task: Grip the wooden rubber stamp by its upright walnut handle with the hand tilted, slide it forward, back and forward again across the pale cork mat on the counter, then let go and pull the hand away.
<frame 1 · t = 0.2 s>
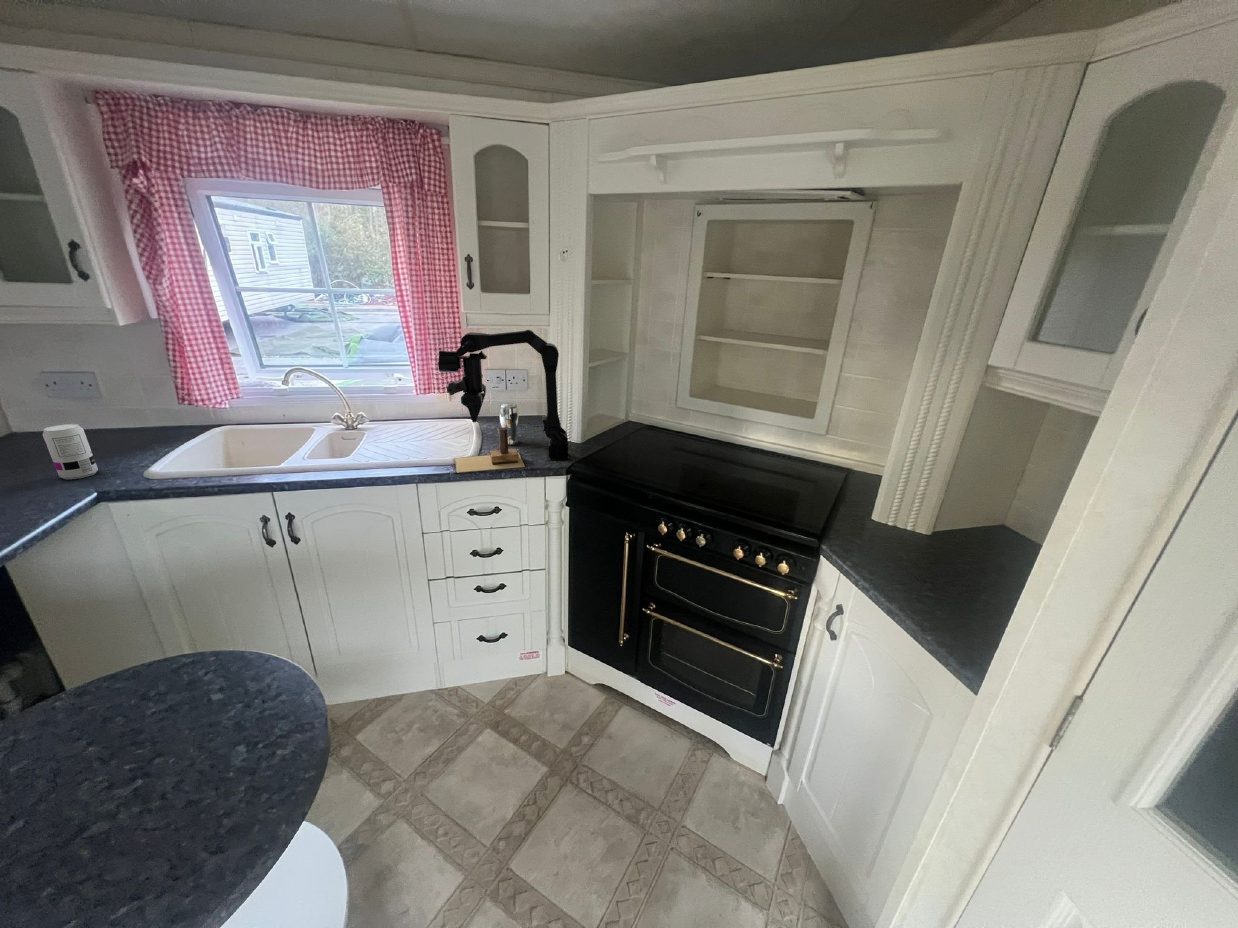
hand: (475, 418, 167), 15 cm above the countertop, tool pointing down, fingers open, 9 cm apart
supplement can: (80, 475, 149), on the countertop
wooden rubber stamp: (504, 461, 171), resting on cork mat
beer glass: (510, 443, 190), on the countertop
cork mat: (489, 462, 169), on the countertop
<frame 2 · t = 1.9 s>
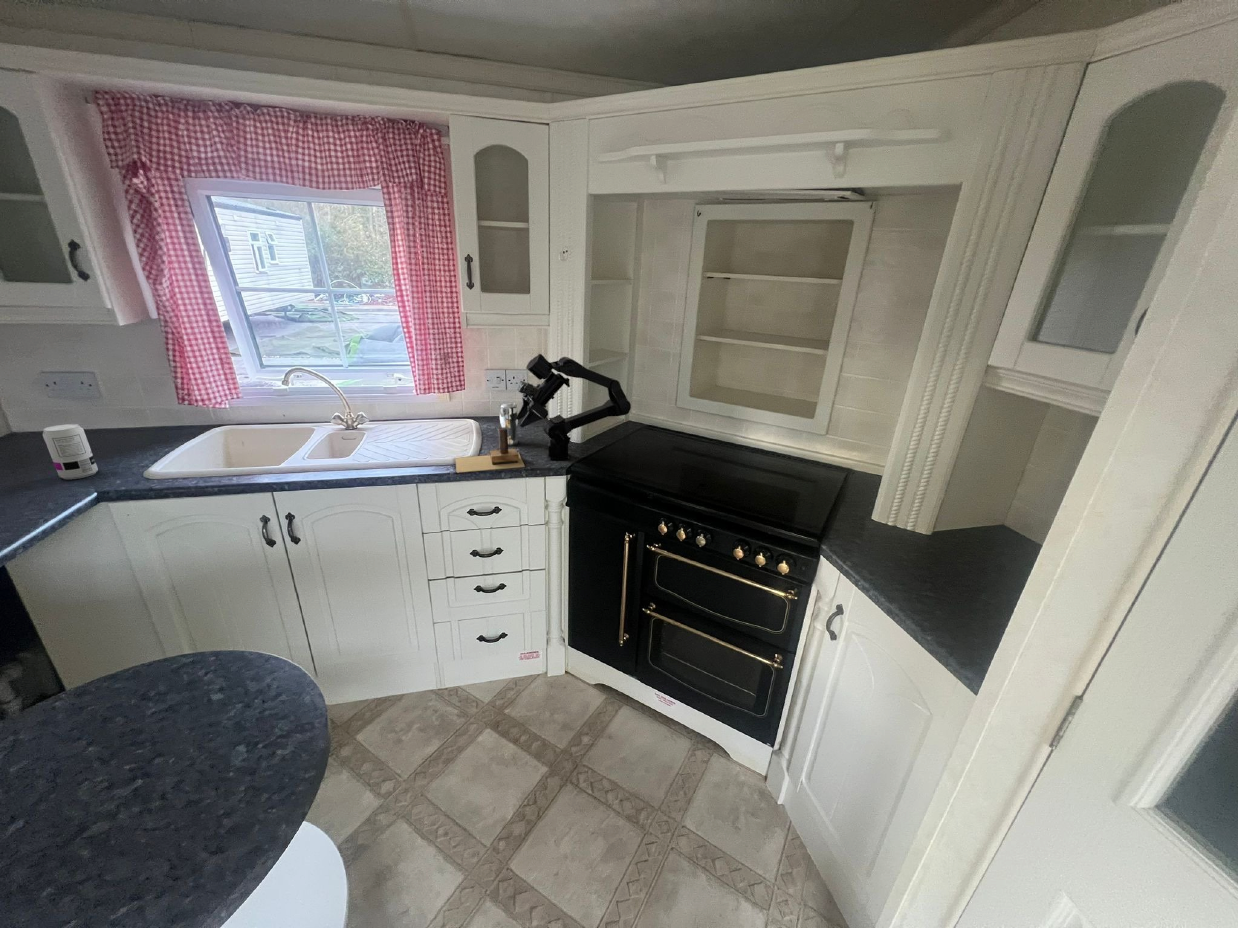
hand: (518, 422, 168), 14 cm above the countertop, tool tilted 40°, fingers open, 9 cm apart
nothing on the countertop moved.
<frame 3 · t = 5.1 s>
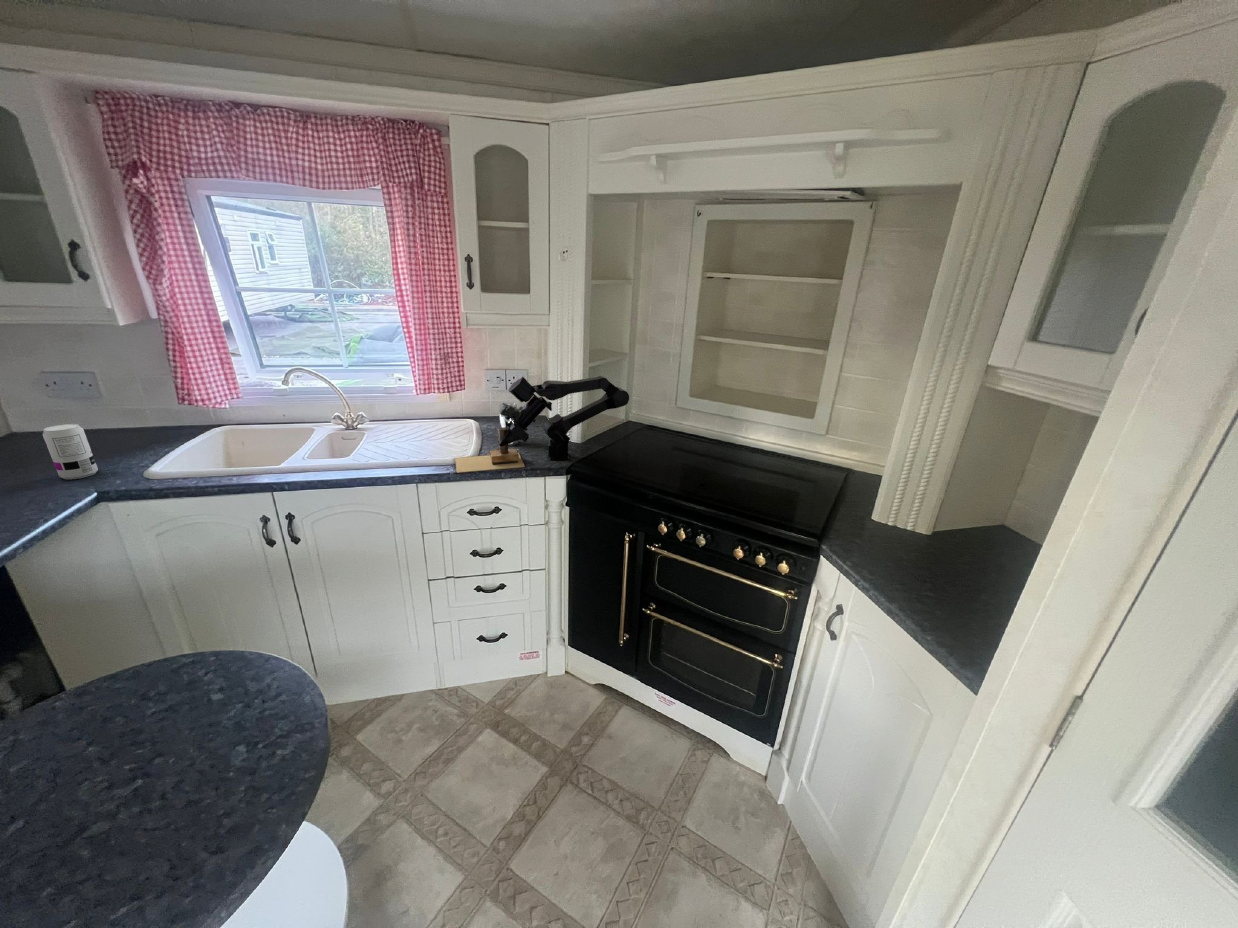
hand: (499, 444, 168), 7 cm above the countertop, tool tilted 45°, fingers closed on wooden rubber stamp, 3 cm apart
wooden rubber stamp: (504, 461, 171), resting on cork mat, touching gripper
everything else where it was.
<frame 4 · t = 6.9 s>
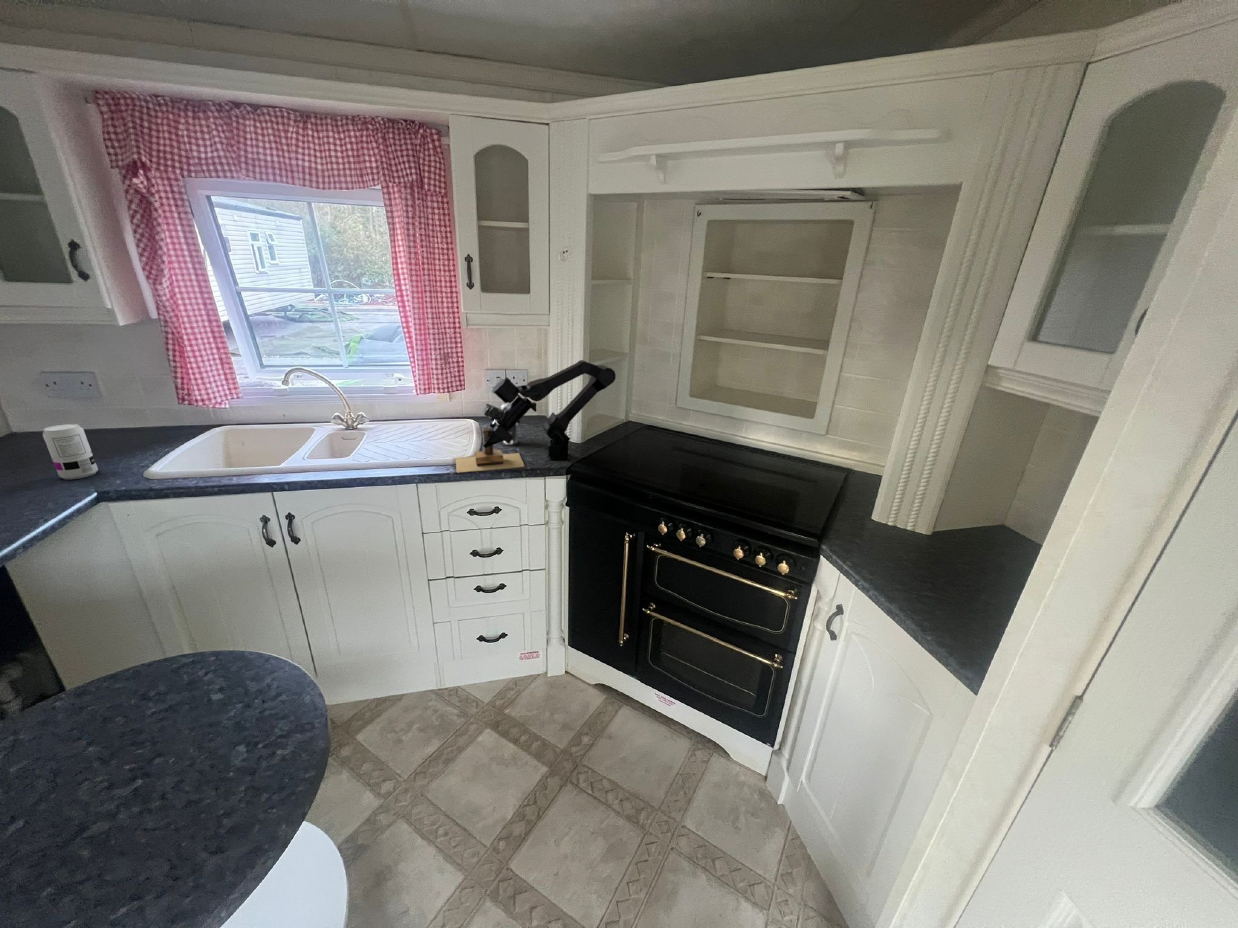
hand: (483, 445, 166), 7 cm above the countertop, tool tilted 45°, fingers closed on wooden rubber stamp, 3 cm apart
wooden rubber stamp: (489, 462, 169), resting on cork mat, touching gripper
everything else where it was.
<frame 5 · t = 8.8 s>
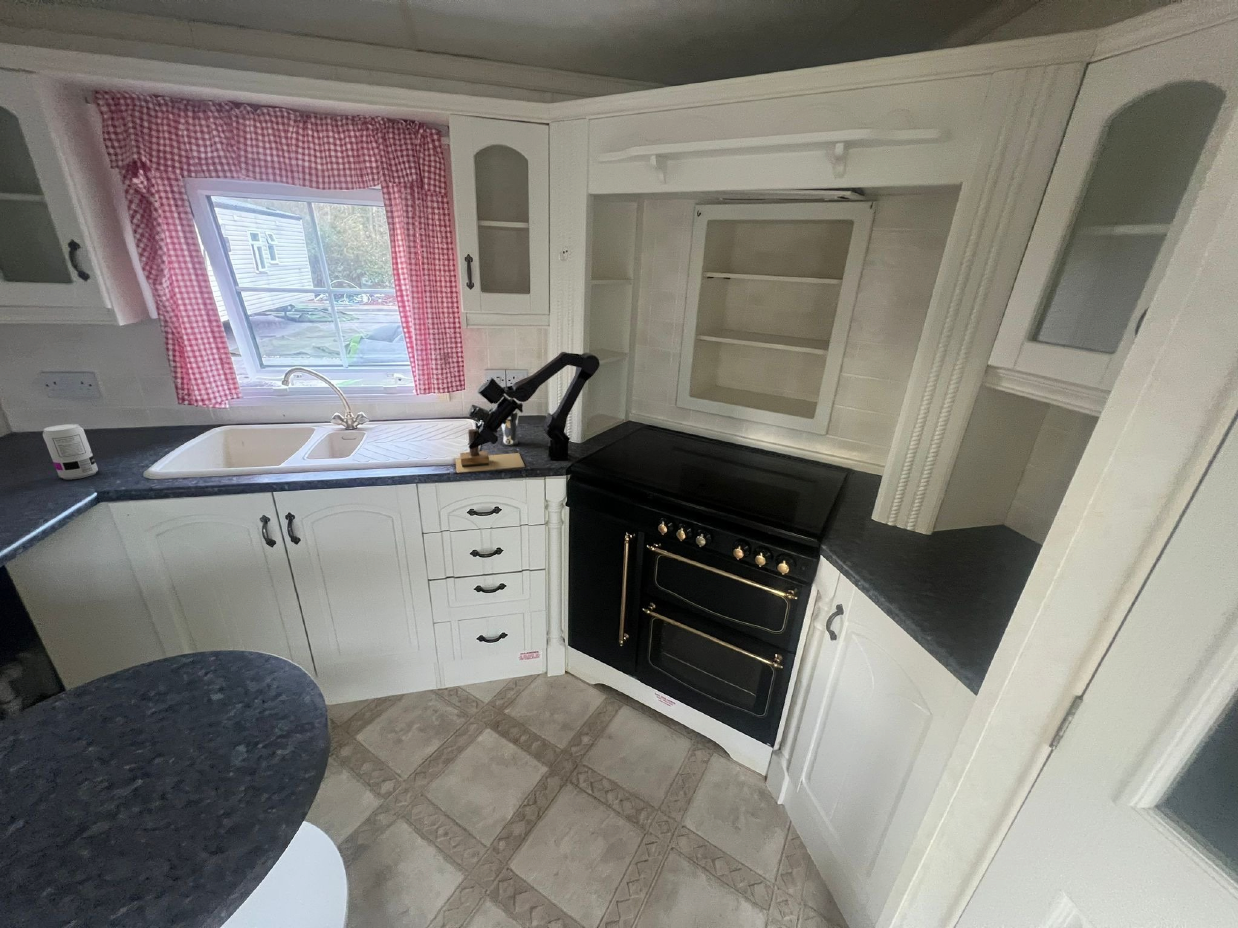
hand: (469, 446, 165), 7 cm above the countertop, tool tilted 45°, fingers closed on wooden rubber stamp, 3 cm apart
wooden rubber stamp: (475, 463, 167), resting on cork mat, touching gripper
everything else where it was.
when the fingers open (6 cm above the countertop, at t = 11.9 s): wooden rubber stamp stays where it is, resting on cork mat.
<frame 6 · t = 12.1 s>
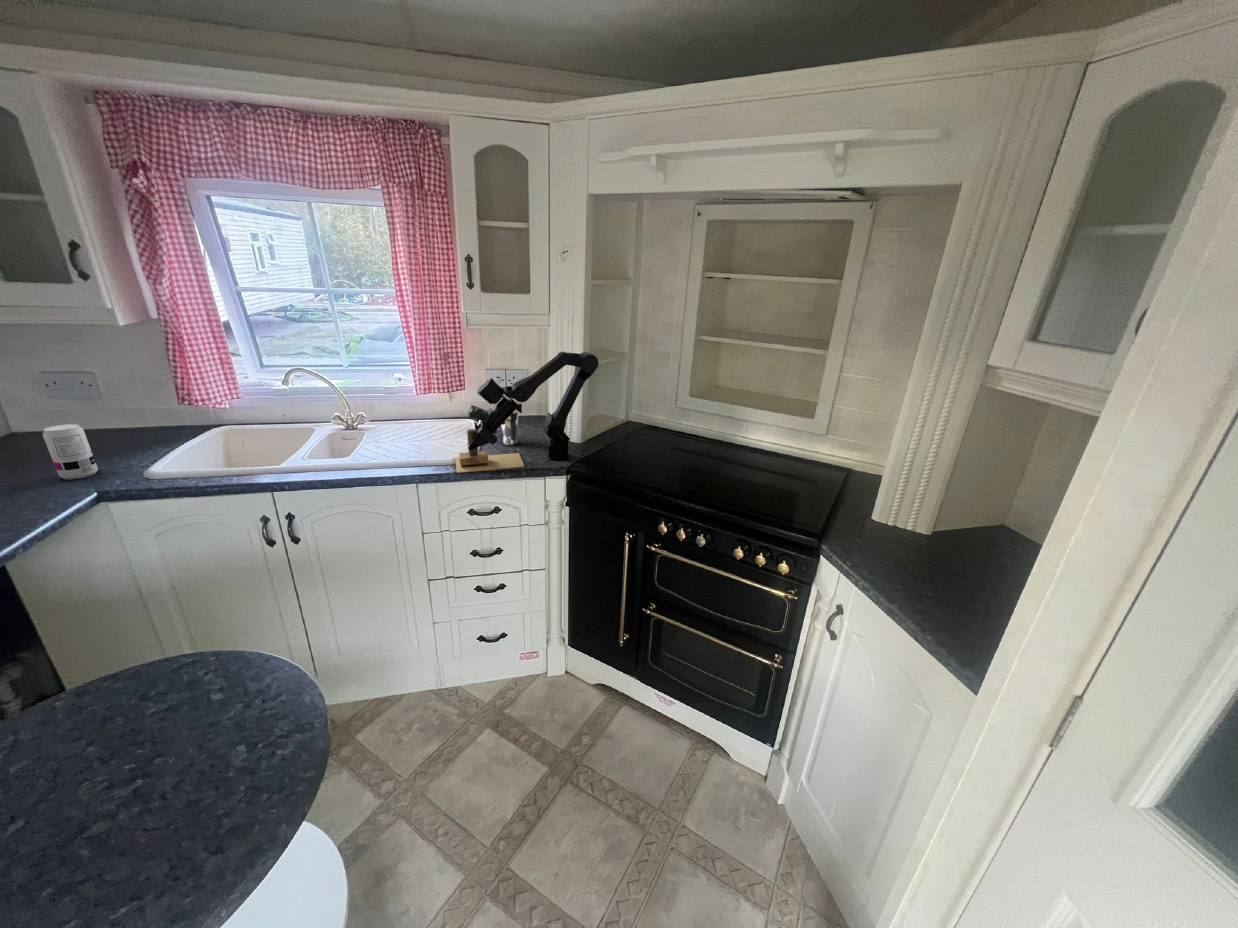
hand: (468, 447, 165), 6 cm above the countertop, tool tilted 45°, fingers open, 4 cm apart
wooden rubber stamp: (474, 463, 167), resting on cork mat
everything else where it was.
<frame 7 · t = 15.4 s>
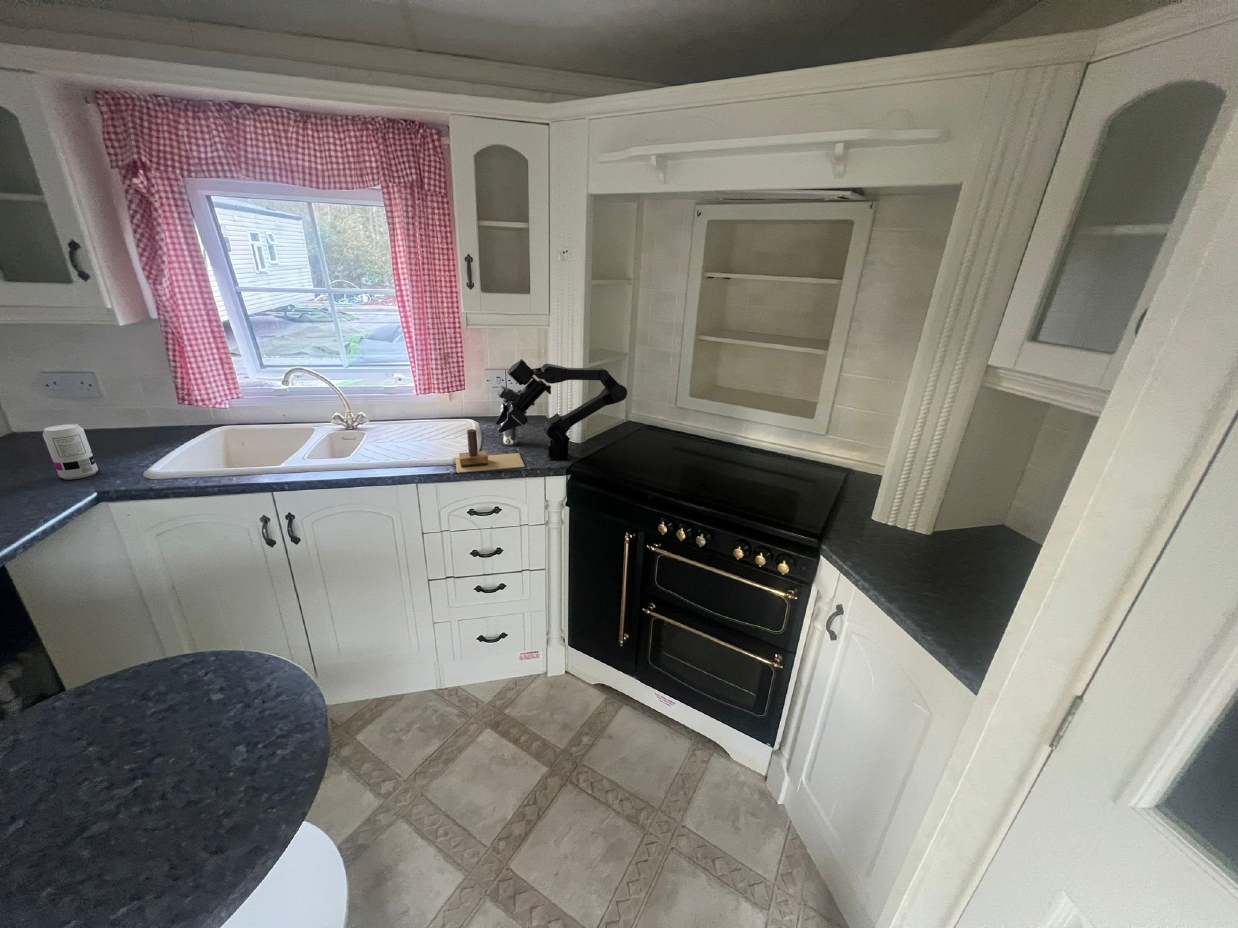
hand: (498, 428, 166), 12 cm above the countertop, tool tilted 45°, fingers open, 9 cm apart
nothing on the countertop moved.
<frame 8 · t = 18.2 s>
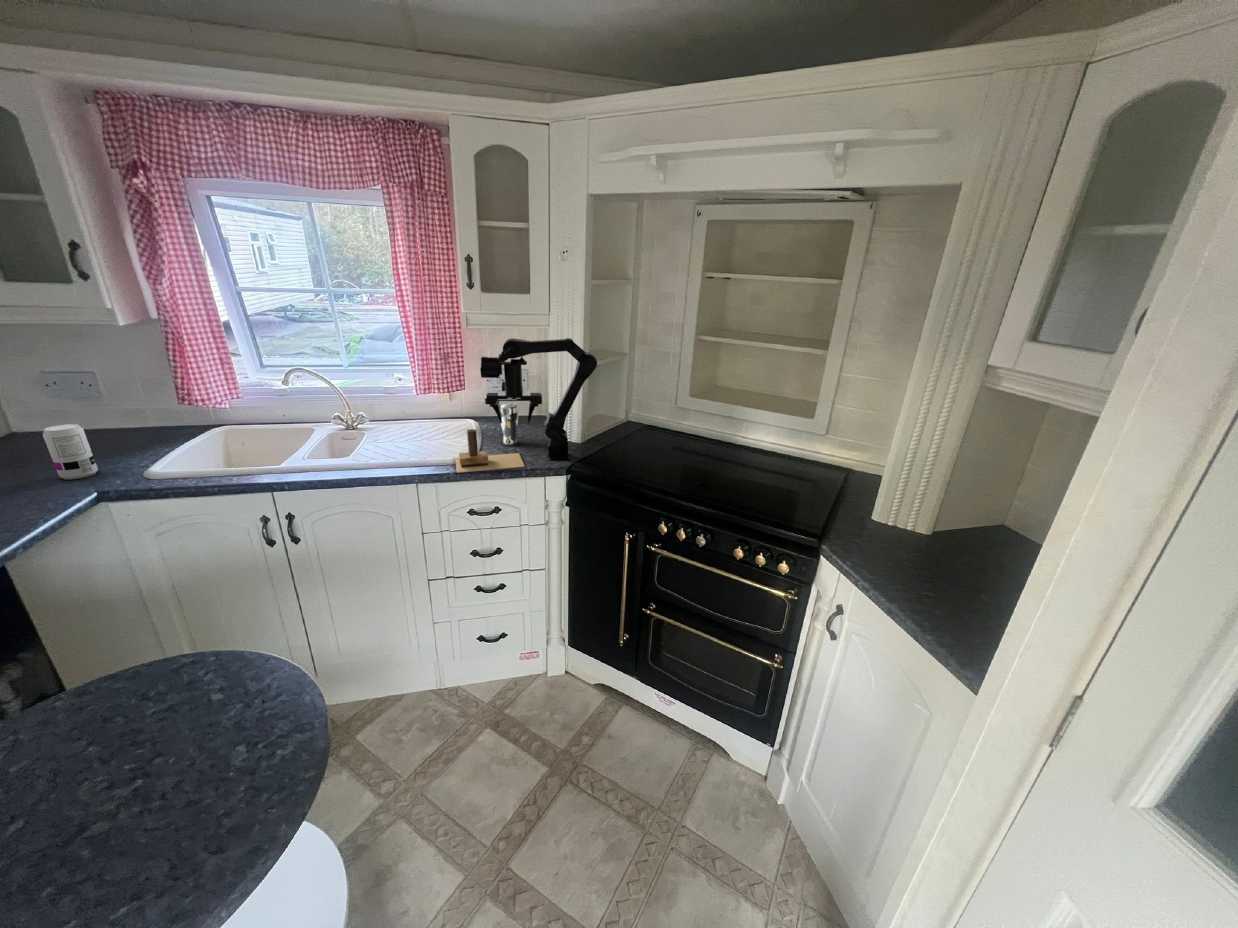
hand: (515, 422, 170), 13 cm above the countertop, tool pointing down, fingers open, 9 cm apart
nothing on the countertop moved.
at the end: wooden rubber stamp inside the target area (0.2 cm from its centre), resting on cork mat; wooden rubber stamp tilted 0°; the gripper is holding nothing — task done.
